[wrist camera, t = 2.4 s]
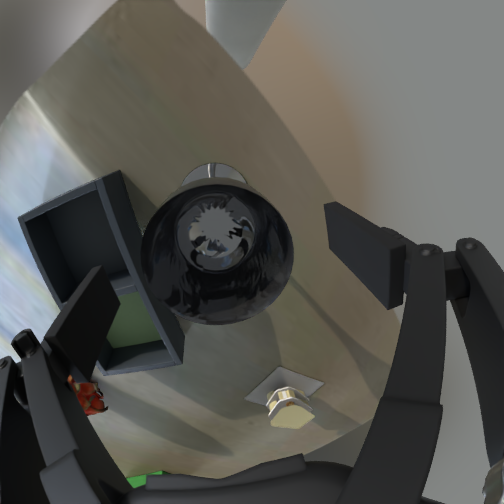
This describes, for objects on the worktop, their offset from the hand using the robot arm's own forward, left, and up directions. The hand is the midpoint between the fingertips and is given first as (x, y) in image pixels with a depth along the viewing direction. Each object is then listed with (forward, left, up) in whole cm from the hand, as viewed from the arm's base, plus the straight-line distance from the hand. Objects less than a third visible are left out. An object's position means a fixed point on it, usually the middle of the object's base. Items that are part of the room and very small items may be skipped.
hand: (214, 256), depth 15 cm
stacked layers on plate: (-2, +32, -14) cm, 35 cm away
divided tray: (+14, +5, -14) cm, 20 cm away
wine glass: (0, 0, -14) cm, 14 cm away
